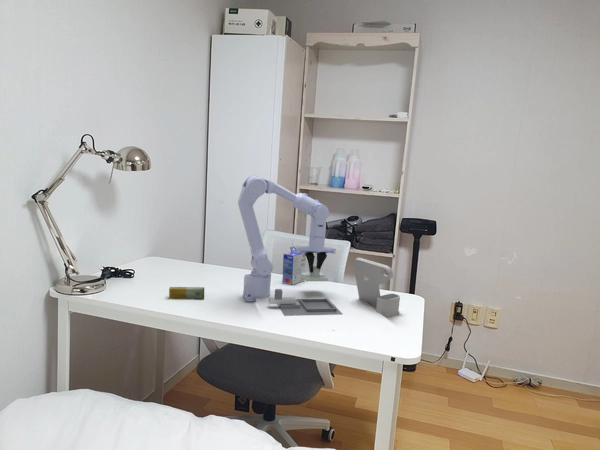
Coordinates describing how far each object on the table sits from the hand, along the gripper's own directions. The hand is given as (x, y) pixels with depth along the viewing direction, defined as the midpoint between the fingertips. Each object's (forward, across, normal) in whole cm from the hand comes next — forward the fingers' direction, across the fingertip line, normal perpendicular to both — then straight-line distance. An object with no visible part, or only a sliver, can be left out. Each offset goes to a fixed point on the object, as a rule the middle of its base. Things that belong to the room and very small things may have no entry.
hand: (314, 272), depth 171 cm
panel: (+10, -6, -14) cm, 18 cm away
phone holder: (+10, +19, -13) cm, 25 cm away
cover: (+2, 0, 0) cm, 2 cm away
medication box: (+10, -46, +1) cm, 47 cm away
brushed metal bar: (+7, -15, -14) cm, 22 cm away
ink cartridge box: (+10, -2, +21) cm, 23 cm away
